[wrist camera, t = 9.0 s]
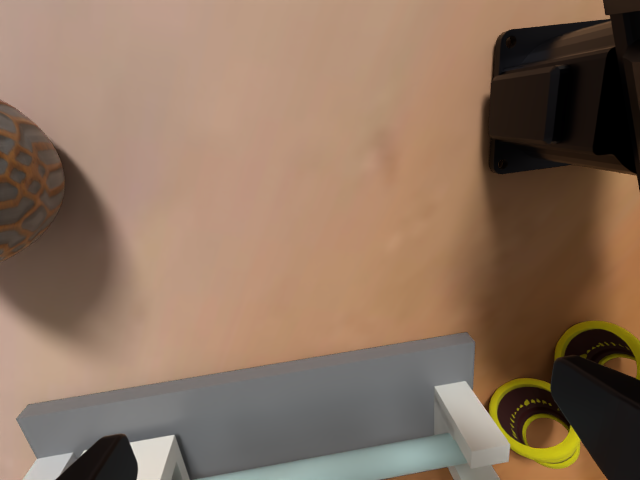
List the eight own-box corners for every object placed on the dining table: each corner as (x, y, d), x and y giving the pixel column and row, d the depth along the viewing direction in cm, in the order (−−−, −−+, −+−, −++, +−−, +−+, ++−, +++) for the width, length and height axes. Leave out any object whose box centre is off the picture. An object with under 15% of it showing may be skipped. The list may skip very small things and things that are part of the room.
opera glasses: (505, 423, 26) (561, 495, 22) (470, 401, 24) (526, 476, 20) (612, 336, 25) (694, 395, 20) (586, 302, 22) (675, 361, 18)
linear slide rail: (466, 332, 22) (531, 407, 16) (462, 450, 25) (514, 545, 20) (28, 404, 20) (-68, 516, 15) (86, 520, 24) (27, 647, 18)
